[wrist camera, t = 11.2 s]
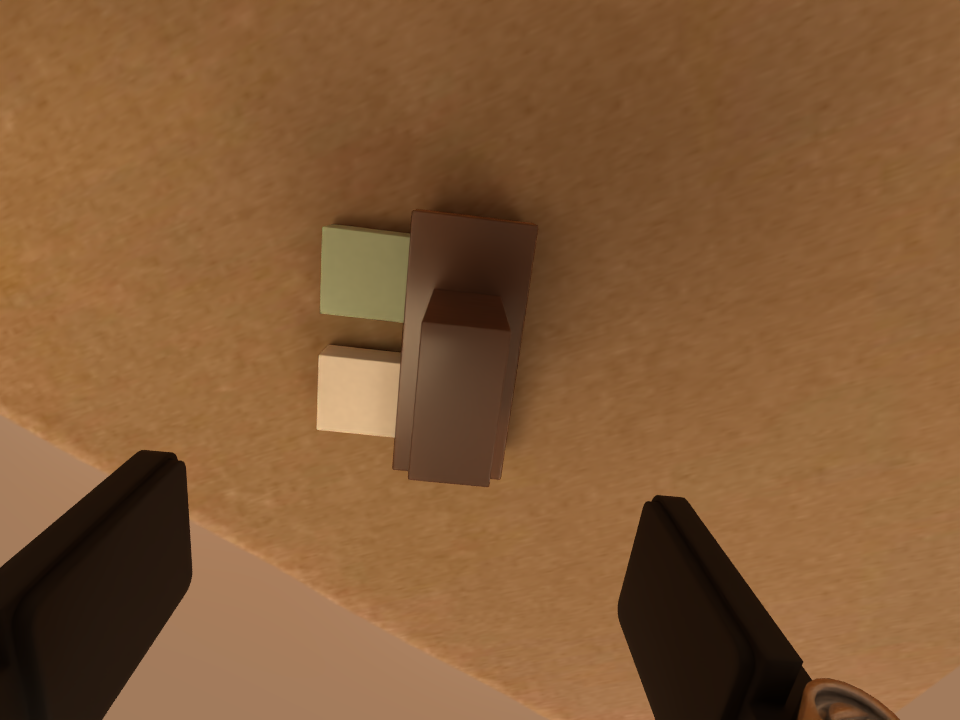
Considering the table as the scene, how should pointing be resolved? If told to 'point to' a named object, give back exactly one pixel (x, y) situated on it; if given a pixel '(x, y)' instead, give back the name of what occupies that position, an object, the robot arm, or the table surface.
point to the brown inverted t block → (460, 345)
